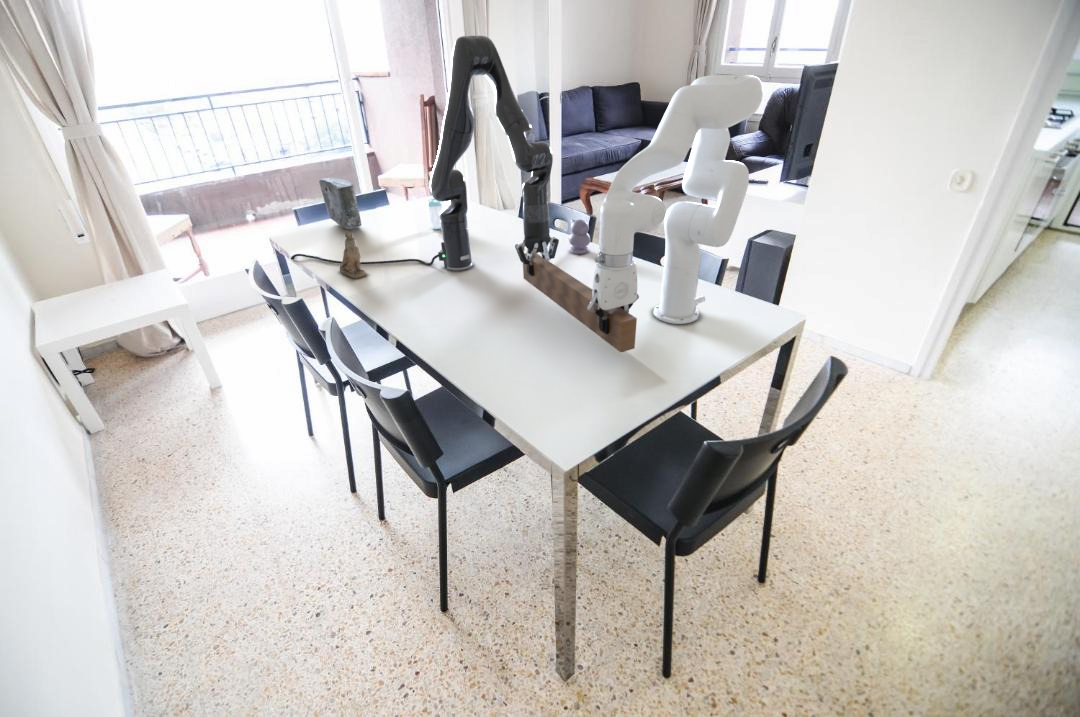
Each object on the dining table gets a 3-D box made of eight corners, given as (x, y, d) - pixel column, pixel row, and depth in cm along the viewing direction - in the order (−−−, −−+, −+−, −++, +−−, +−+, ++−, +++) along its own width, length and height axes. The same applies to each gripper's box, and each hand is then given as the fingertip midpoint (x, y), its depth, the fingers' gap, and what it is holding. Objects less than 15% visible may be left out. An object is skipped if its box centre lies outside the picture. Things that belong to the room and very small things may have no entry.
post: (523, 278, 157) (522, 253, 153) (534, 275, 159) (533, 251, 155) (620, 352, 117) (622, 322, 112) (634, 348, 118) (636, 318, 114)
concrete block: (366, 231, 222) (356, 185, 212) (347, 235, 218) (335, 188, 207) (347, 218, 241) (337, 175, 230) (329, 222, 236) (318, 178, 226)
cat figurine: (594, 250, 190) (595, 219, 184) (581, 256, 185) (582, 224, 179) (577, 246, 195) (577, 215, 189) (564, 251, 190) (564, 220, 184)
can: (445, 229, 220) (441, 202, 214) (429, 230, 220) (425, 202, 214) (447, 224, 226) (444, 198, 220) (432, 225, 226) (428, 198, 220)
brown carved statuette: (368, 281, 178) (362, 235, 166) (353, 285, 175) (347, 238, 163) (352, 266, 184) (346, 221, 172) (338, 270, 181) (331, 224, 169)
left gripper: (519, 225, 137) (522, 283, 146) (564, 217, 142) (564, 273, 151) (508, 218, 143) (512, 274, 152) (551, 211, 148) (553, 265, 157)
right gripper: (592, 270, 106) (591, 344, 115) (656, 255, 112) (649, 327, 121) (574, 259, 111) (574, 331, 121) (636, 246, 118) (631, 315, 127)
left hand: (538, 273), depth 151 cm, fingers closed on post, 4 cm apart
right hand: (612, 328), depth 121 cm, fingers closed on post, 4 cm apart
